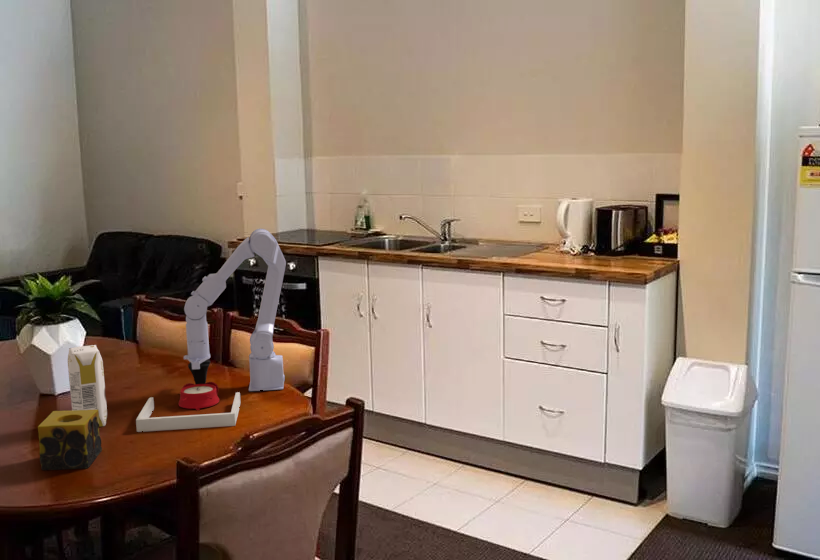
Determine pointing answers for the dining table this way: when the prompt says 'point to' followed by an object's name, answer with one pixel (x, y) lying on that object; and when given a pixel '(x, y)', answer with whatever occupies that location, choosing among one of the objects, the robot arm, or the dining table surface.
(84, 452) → the yellow patterned cube
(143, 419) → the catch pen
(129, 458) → the dining table surface
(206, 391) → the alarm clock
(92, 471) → the dining table surface
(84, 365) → the juice carton
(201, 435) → the dining table surface
